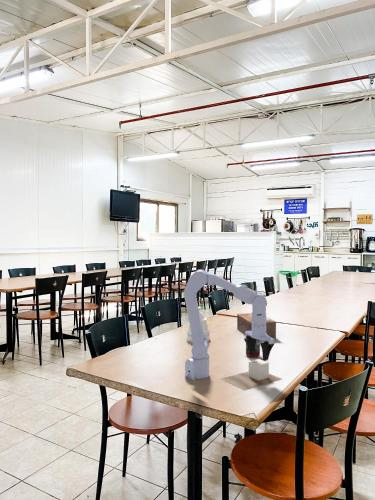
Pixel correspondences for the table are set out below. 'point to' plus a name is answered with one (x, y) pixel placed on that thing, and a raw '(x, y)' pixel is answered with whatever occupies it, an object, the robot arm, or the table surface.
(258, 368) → the plaster cube
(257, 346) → the beverage can
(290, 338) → the table surface
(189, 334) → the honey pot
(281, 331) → the table surface
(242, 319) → the tissue box cover
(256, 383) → the board
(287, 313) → the table surface
